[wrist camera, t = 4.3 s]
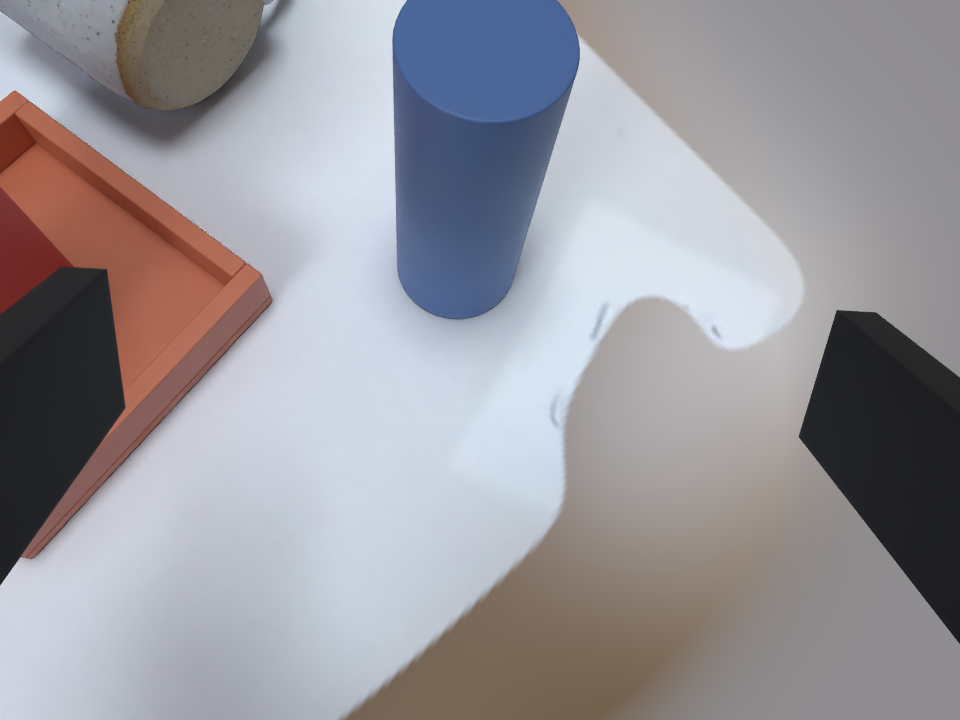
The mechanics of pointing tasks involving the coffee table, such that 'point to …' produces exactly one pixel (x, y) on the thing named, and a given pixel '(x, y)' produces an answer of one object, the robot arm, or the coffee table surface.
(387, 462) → the coffee table surface
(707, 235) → the coffee table surface
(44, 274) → the red peg
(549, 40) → the blue peg
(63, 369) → the robot arm
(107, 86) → the ceramic mug
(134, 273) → the orange tray
